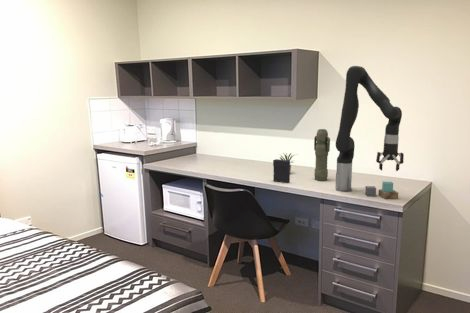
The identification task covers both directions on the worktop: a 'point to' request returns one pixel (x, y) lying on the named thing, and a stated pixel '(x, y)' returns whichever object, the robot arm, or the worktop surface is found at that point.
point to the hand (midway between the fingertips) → (388, 170)
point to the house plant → (288, 158)
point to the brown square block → (388, 194)
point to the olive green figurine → (321, 154)
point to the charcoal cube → (370, 191)
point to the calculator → (281, 170)
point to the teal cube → (387, 186)
